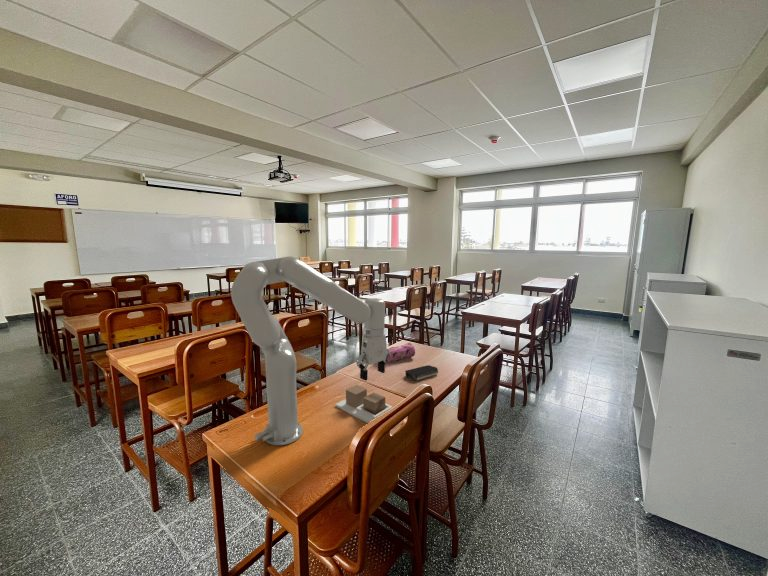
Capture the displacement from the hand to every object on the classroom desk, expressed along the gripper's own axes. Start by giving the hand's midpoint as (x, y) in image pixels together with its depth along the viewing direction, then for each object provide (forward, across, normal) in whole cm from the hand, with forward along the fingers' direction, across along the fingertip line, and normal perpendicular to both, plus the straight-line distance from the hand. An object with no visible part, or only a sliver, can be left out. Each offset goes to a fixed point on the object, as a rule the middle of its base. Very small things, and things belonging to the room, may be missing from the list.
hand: (372, 375), depth 117 cm
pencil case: (+15, +51, +28) cm, 61 cm away
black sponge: (+15, +43, +6) cm, 46 cm away
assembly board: (+16, +1, +4) cm, 17 cm away
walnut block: (+15, +1, -1) cm, 15 cm away
